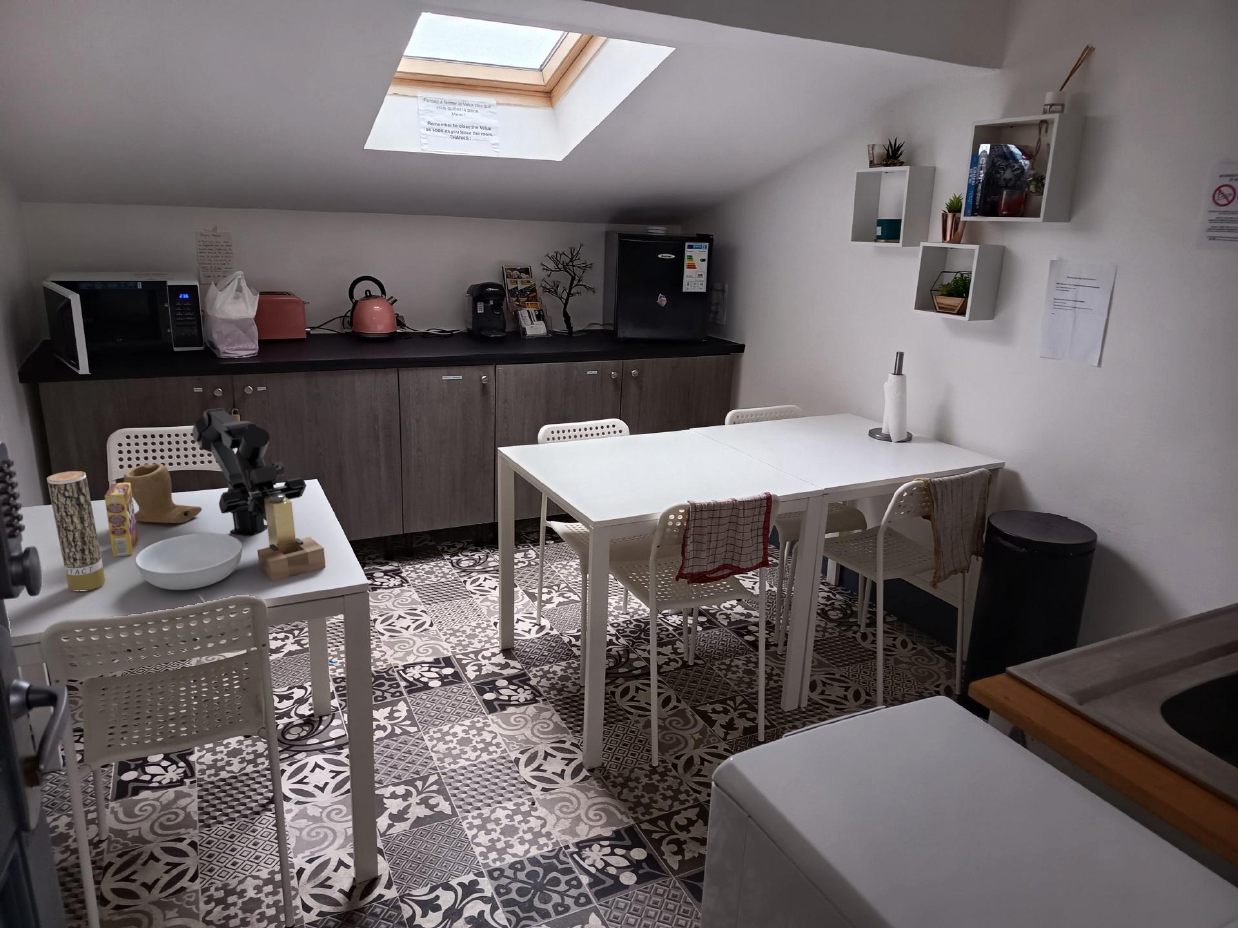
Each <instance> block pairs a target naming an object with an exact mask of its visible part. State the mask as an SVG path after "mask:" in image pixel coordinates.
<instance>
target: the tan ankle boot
mask: <svg viewBox="0 0 1238 928" xmlns="http://www.w3.org/2000/svg"><path fill="white" fill-rule="evenodd" d="M123 483H130V484H131V492H132V499H133V501H135V503H136V504H137V506H138V511H136V512H134V513H135V519H136V522H142V523H143V522H144V523H156V524H157V523H159V524H160V523H161V524H179V523H180V524H181V523H186V522H188V521H190V520H192V519H193V518H195V517H197V516H198V515H199V514H200V513H201V512H202V510H203V508H202V506H192V505H184V504H177V503H176V504H175V502H174V500H173V497H172V496H173V495H172V488H173V487H172V486H173V485H172V478H171V475H170V471H169V470H168V468H167V467H166V466H165V465H164V464H162V463H159V462H156V463H153V464H148V463H147V464H141V465H138V466H135V467H133V468H130V469H129V470H128V471H126V472H125V473H124V474H123Z"/></svg>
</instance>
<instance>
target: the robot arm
mask: <svg viewBox="0 0 1238 928" xmlns="http://www.w3.org/2000/svg"><path fill="white" fill-rule="evenodd" d="M191 431H192V439H193V440H194V442H195V443H196V444H198V446H199V447H200V449H201V450H203V451H206V452H209V453H211V454H212V456H213V457H214V460H215V461H216V464H217V465H218V466H219V468H220V470H221V471H222V473H223V475H224V477H225V478H226V480H227V491H223V492H222V494H221V495H220V499H219V502H218V507H219V509H220V513H221V514H228V513H230V514H232V519H233V528H232V529H231V530H230V531H229V533H230V534H235V535H241V536H247V537H252V536H254V535H257V534H258V533H260V532H262V531H265V529H268V528H267V524H265V522H267V519H266V510H265V502H264V498H268V497H270V496H271V495H273V494H285V497H286V498H287V499H288V500H290V501H291V500H293V499H300V498H301V497H303V494H304V492H305V491H306V487H307V484H306V482H305V480H304V479H303V478H302V477H295V478H290V479H285V481H284V485H281V486H277V487H275V486H276V485H277V480H279V477H280V476H284V475H285V474H286V471H285V467H284V465H283V462H282V461H281V460H279V461H275V462H273V463H272V464H271V465H269V466H268V465H267V464H266V463H265V460H264V458H263V457H264V456H265V454H266V453H267V448H268V445H269V442H270V439H271V438H270V434H269V432H267V430H265V429H264V428H262V427H258V426H257V424H256V422H252V421H248V420H246V421H245V420H242V421H241V420H238V419H236V418H235V417H234V416H232V415H231V414H229V413H228V411H227V409H226V408H222V407H220V408H212V409H207V410H206V411H205V410H204V411H203V414H202V416H200V417H199V418H198V419H197V420H196V421H194V423H193V427H192V430H191ZM234 449H235V450H236V449H237V450H236V452H235V451H234Z"/></svg>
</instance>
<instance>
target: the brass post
mask: <svg viewBox="0 0 1238 928" xmlns="http://www.w3.org/2000/svg"><path fill="white" fill-rule="evenodd" d="M264 502H265V510H266V519H267V521H266V525H267V528H266V529H267V535H268V543H269V545H271V544H274V545H276V546H277V547H278V548H279V551H280V552H281V553H283V554H284V555H286V554H290V553H294V552H297V548H296V531H295V529H296V528H295V521H294V511H293V502H292V501H291V499H290V500H289V499H287V498H286V497H285V494H273V495H271V496H270V497H268V498H264ZM269 545H268V546H269Z"/></svg>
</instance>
